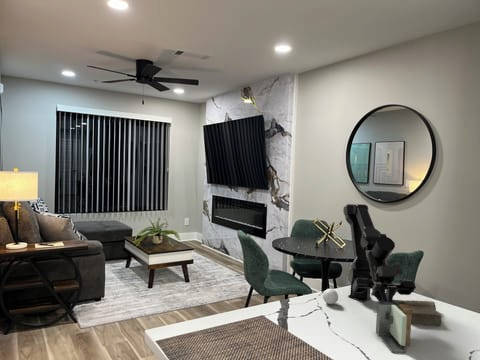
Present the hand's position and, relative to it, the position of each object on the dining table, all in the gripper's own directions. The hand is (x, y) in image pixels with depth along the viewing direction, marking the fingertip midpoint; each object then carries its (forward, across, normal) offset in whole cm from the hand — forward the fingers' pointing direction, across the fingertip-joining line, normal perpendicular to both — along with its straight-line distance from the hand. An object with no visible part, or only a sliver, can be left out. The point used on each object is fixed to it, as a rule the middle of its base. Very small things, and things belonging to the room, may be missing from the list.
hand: (389, 311), depth 111 cm
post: (+9, +2, 0) cm, 9 cm away
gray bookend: (+9, 0, +1) cm, 9 cm away
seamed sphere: (-10, -13, +20) cm, 25 cm away
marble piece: (-5, +16, +15) cm, 22 cm away
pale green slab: (+8, -1, -1) cm, 8 cm away
